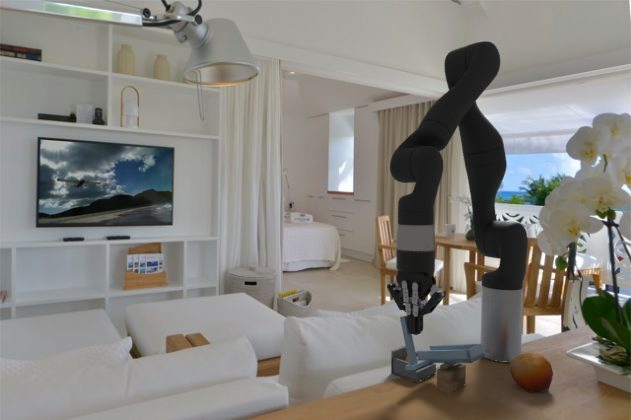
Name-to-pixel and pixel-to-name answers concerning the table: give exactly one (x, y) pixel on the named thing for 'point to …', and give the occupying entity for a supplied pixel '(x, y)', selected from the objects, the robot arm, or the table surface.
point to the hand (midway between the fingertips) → (415, 333)
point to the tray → (399, 364)
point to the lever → (439, 351)
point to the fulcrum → (451, 377)
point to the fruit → (531, 372)
